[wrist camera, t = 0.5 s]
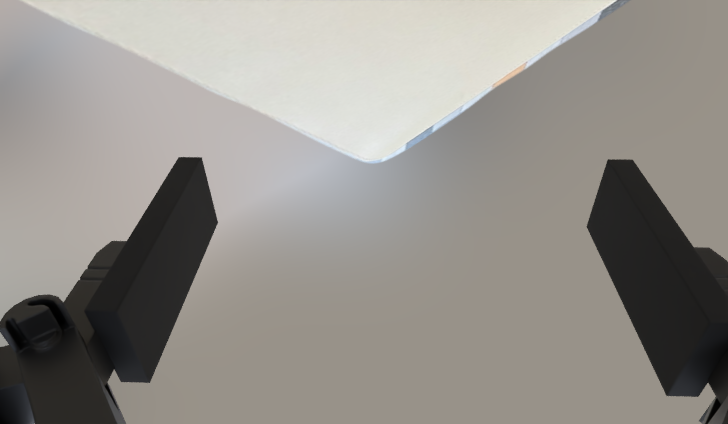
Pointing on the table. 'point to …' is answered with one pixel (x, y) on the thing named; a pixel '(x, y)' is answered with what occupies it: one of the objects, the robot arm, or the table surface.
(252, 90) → the table surface
